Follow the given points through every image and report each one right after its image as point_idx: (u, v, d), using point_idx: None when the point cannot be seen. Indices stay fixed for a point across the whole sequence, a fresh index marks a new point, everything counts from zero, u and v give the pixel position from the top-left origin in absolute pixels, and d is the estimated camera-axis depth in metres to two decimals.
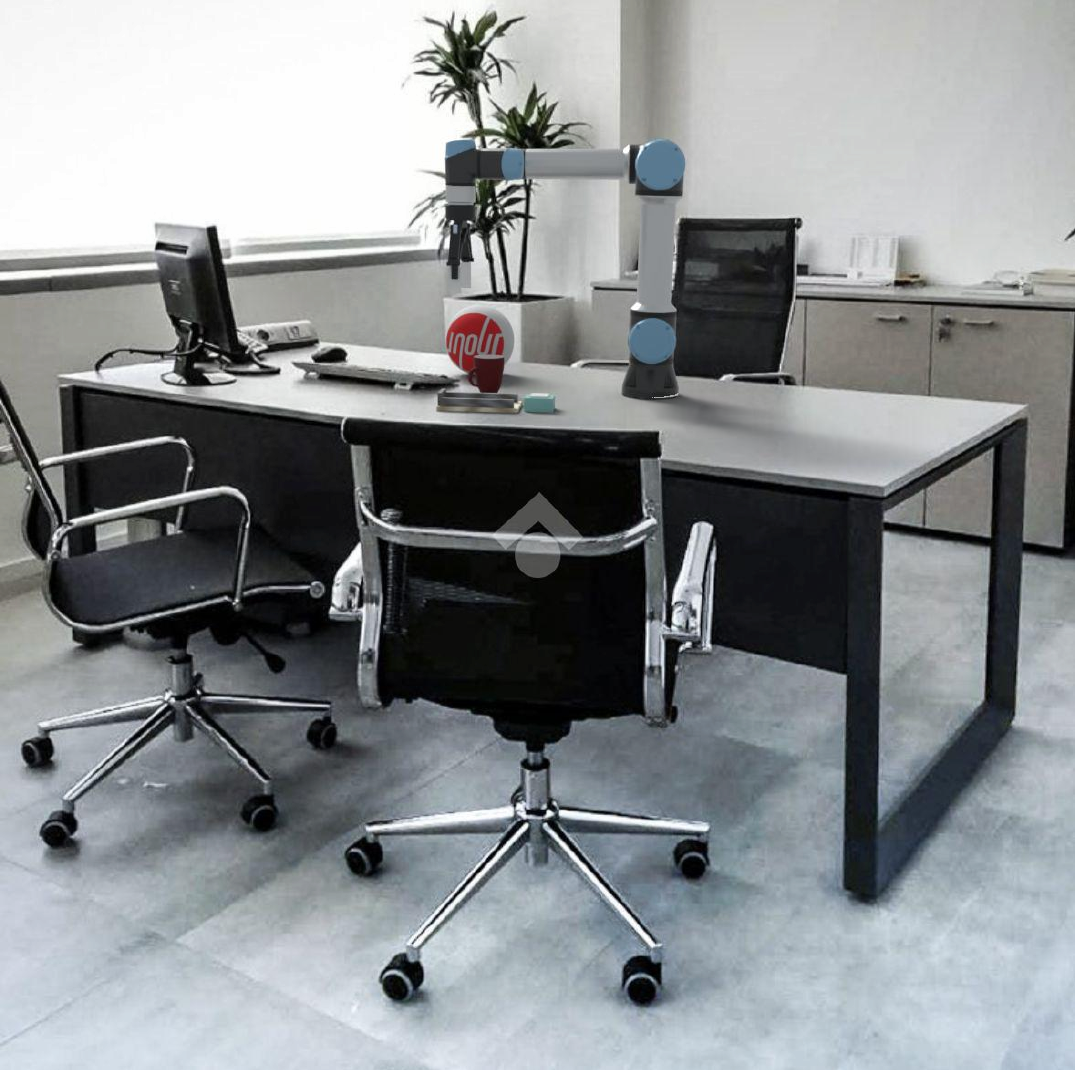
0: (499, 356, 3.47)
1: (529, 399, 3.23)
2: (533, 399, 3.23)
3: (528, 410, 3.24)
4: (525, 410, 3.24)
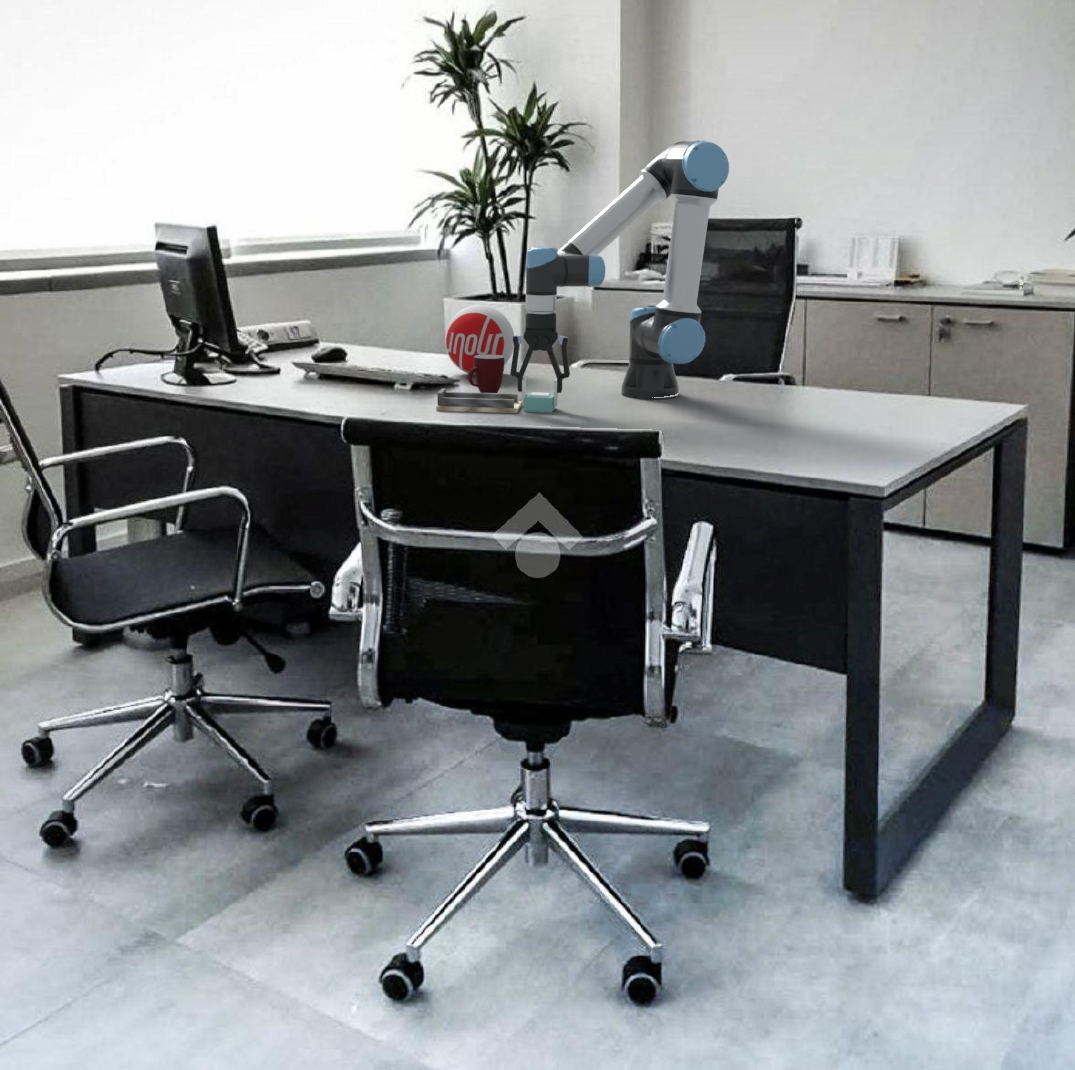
0: (499, 356, 3.47)
1: (528, 398, 3.23)
2: (532, 398, 3.23)
3: (527, 409, 3.24)
4: (524, 409, 3.24)
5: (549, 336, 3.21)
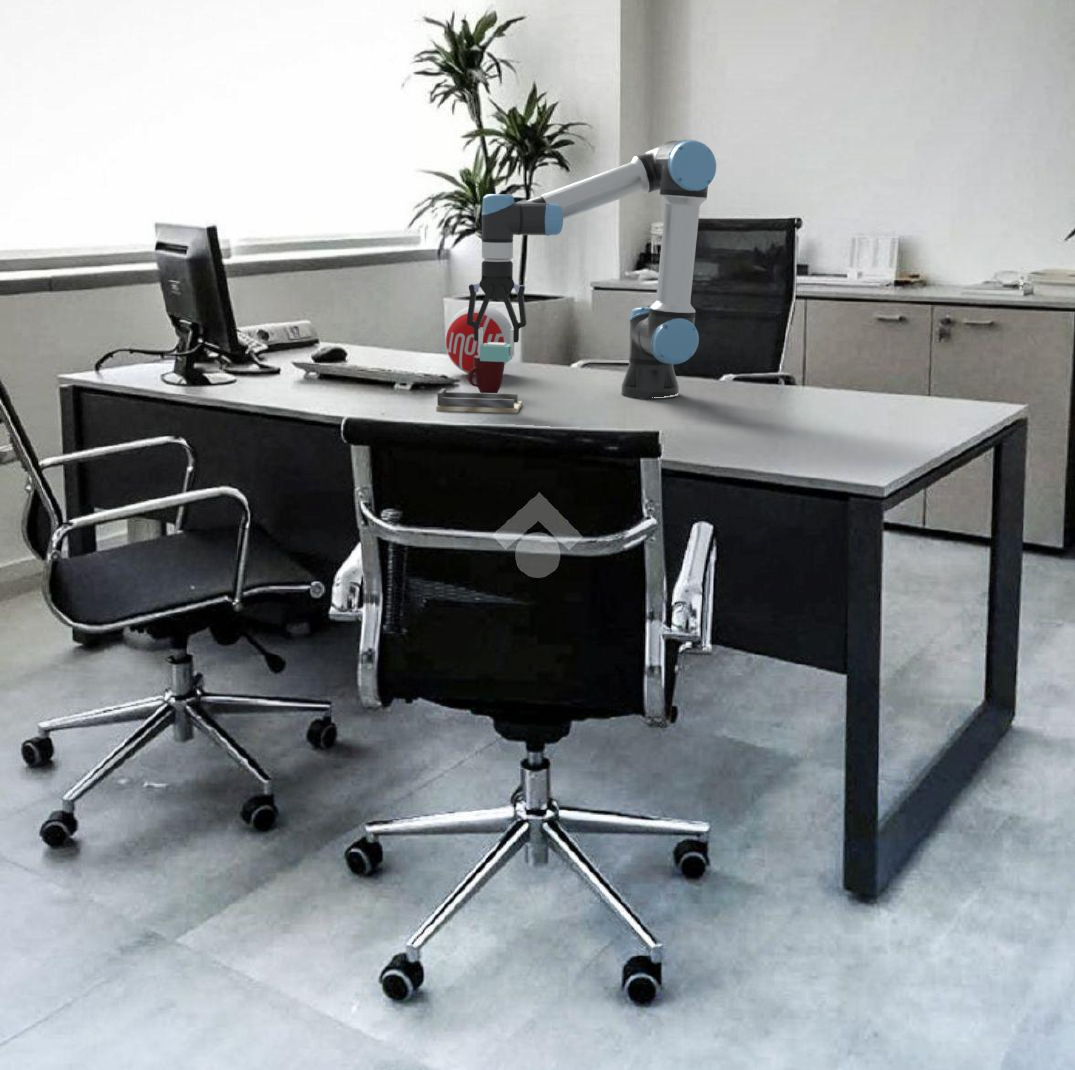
0: None
1: (485, 347, 3.21)
2: (489, 347, 3.21)
3: (484, 358, 3.22)
4: (481, 358, 3.22)
5: (505, 284, 3.18)
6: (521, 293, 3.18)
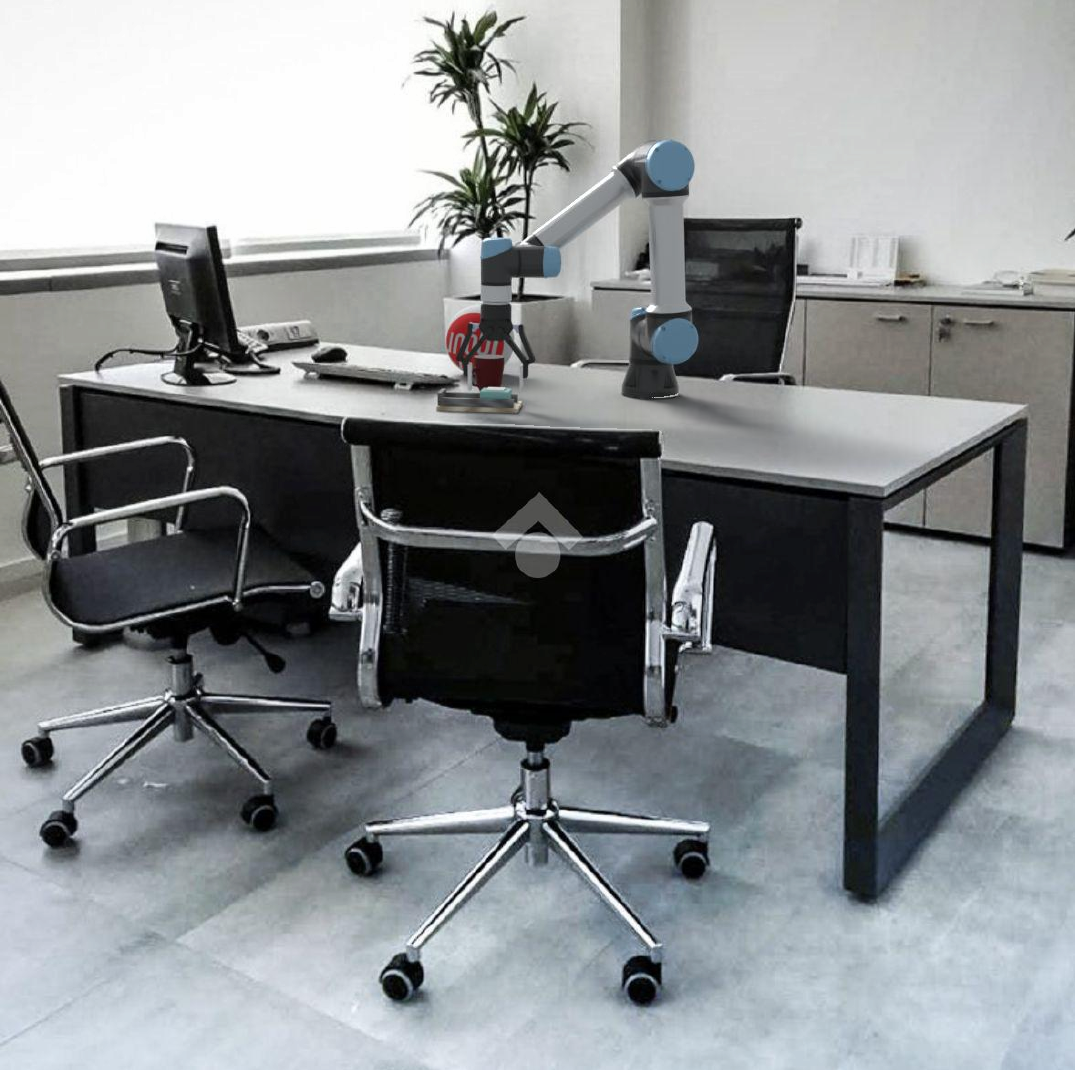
0: (499, 356, 3.47)
1: (484, 392, 3.24)
2: (488, 393, 3.24)
3: None
4: None
5: (504, 328, 3.21)
6: (522, 331, 3.21)
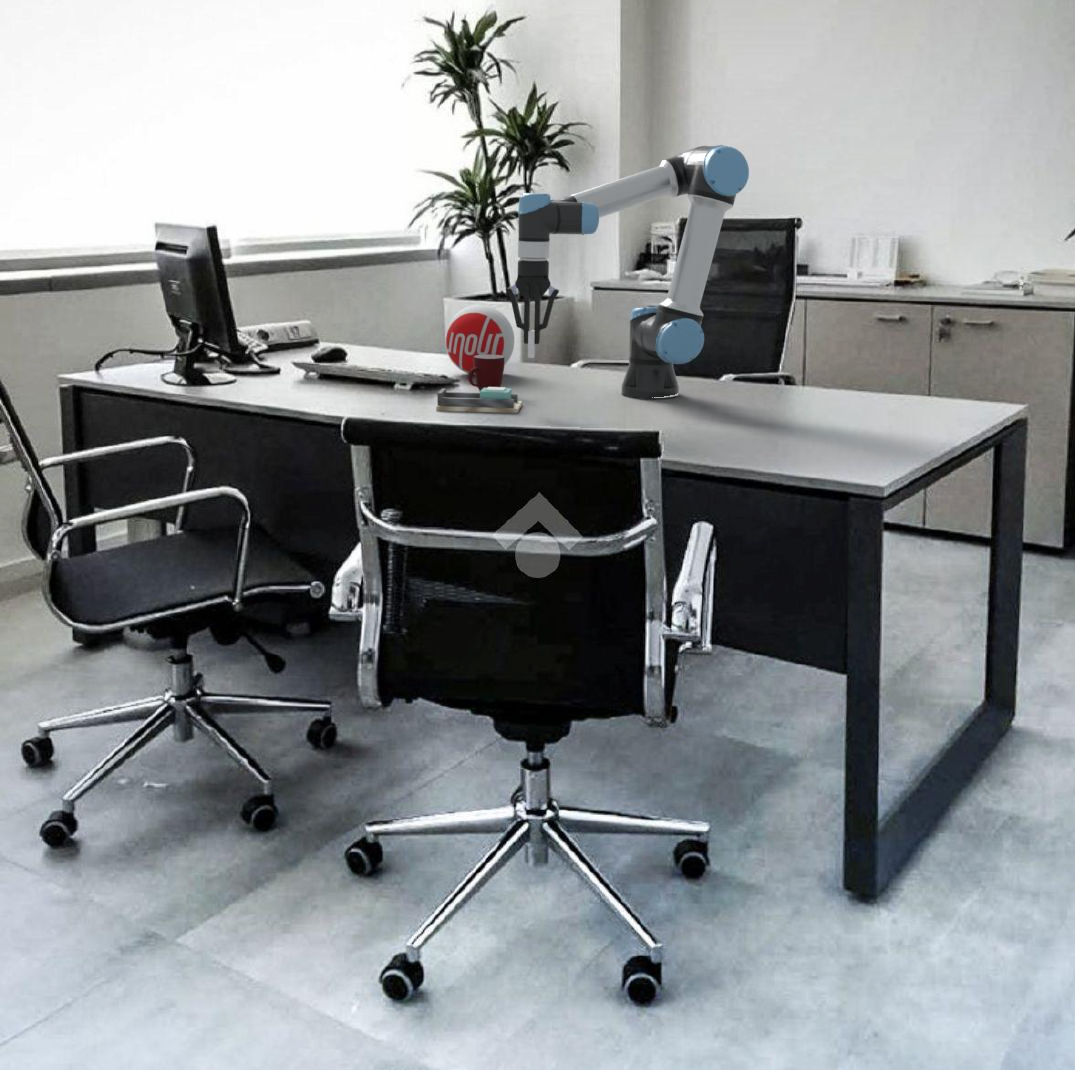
0: (499, 356, 3.47)
1: (484, 392, 3.24)
2: (488, 393, 3.24)
3: None
4: None
5: (542, 282, 3.17)
6: (553, 296, 3.18)
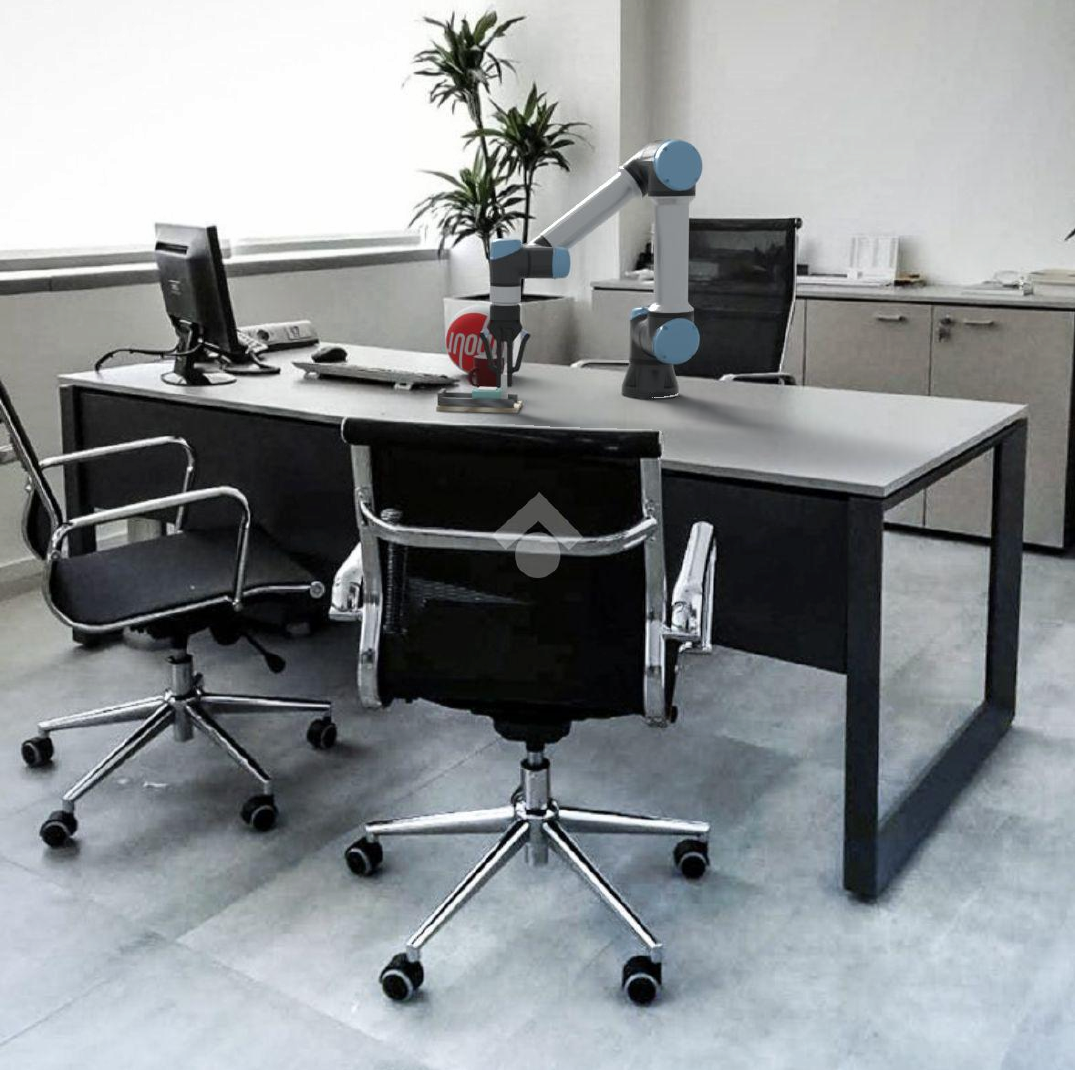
0: None
1: (476, 392, 3.24)
2: (480, 392, 3.24)
3: None
4: None
5: (513, 326, 3.21)
6: (525, 340, 3.21)
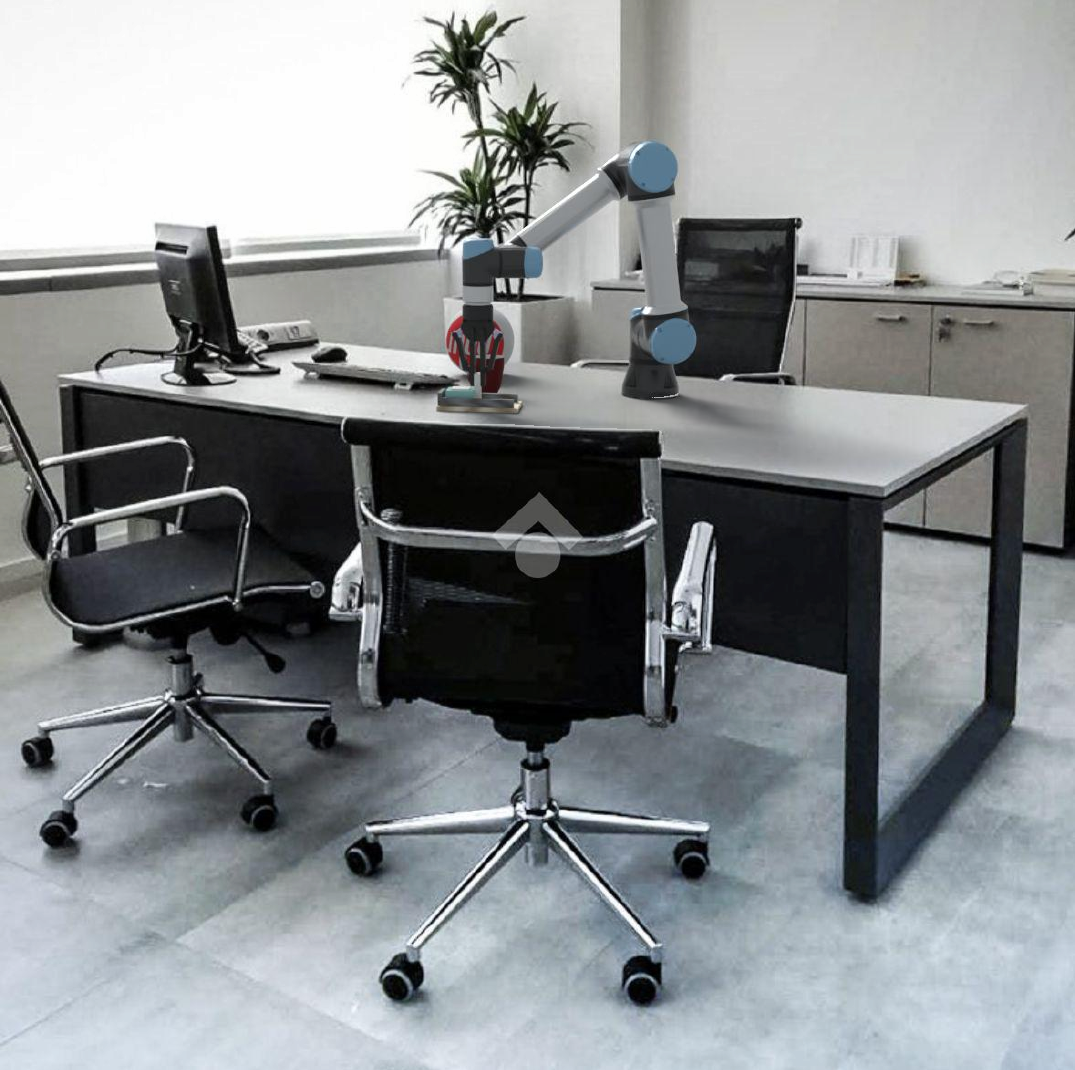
0: (499, 356, 3.47)
1: (450, 392, 3.25)
2: (454, 392, 3.25)
3: None
4: None
5: (486, 326, 3.21)
6: (498, 340, 3.22)
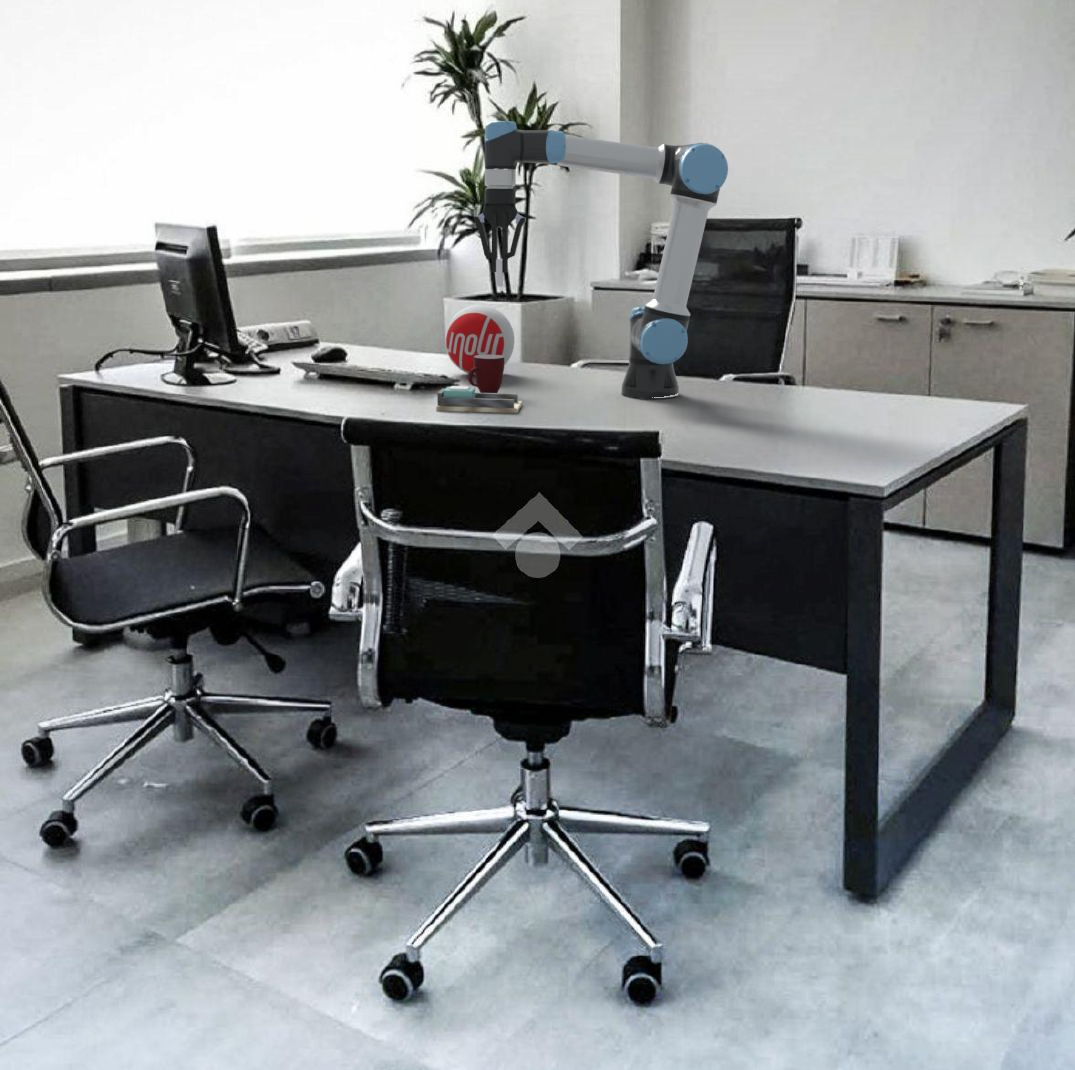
0: (499, 356, 3.47)
1: (448, 392, 3.25)
2: (452, 392, 3.25)
3: None
4: None
5: (508, 211, 3.20)
6: (520, 224, 3.21)
